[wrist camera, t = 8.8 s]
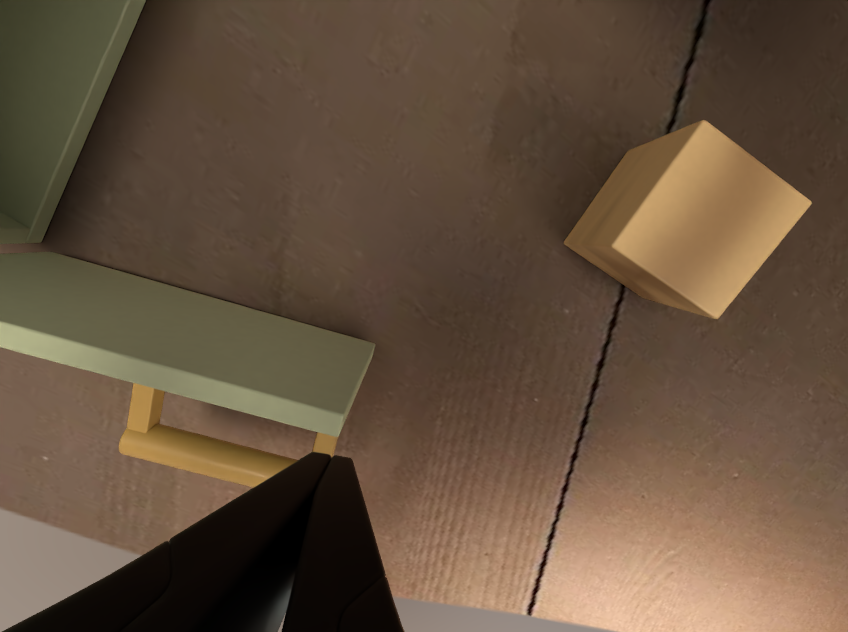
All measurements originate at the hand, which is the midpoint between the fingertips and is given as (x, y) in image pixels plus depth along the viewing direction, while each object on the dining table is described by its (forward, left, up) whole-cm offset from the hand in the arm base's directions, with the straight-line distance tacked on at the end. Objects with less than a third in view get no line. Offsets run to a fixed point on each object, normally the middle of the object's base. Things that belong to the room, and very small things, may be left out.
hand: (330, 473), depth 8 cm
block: (-7, -11, -12) cm, 18 cm away
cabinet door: (+7, +6, -11) cm, 14 cm away
